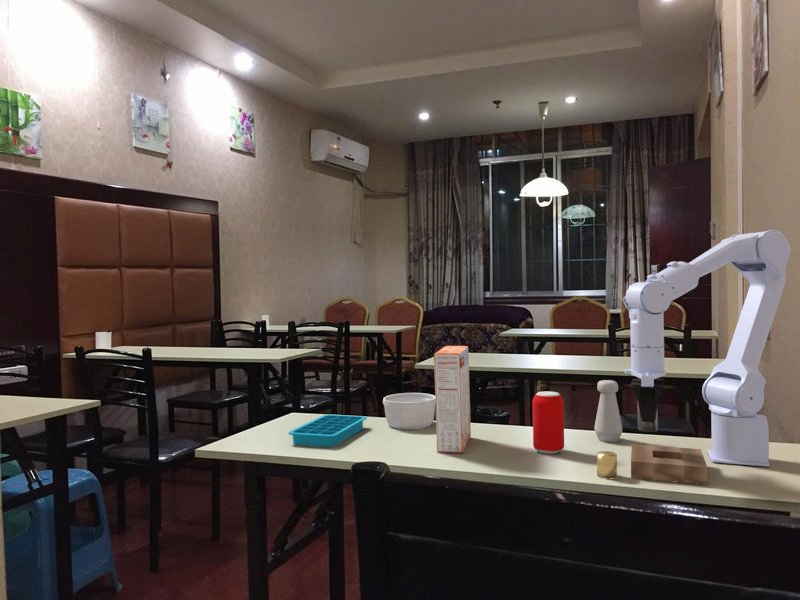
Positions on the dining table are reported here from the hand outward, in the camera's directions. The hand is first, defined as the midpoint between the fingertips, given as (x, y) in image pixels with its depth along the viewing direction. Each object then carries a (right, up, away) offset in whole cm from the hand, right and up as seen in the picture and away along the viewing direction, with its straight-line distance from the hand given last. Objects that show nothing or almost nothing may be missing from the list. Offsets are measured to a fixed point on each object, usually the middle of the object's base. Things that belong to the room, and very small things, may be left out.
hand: (648, 419), depth 111 cm
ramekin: (-44, -9, +38) cm, 59 cm away
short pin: (-9, -9, -5) cm, 14 cm away
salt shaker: (-1, -9, +20) cm, 22 cm away
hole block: (+2, -9, -3) cm, 10 cm away
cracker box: (-34, -9, +18) cm, 40 cm away
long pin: (0, -2, 0) cm, 2 cm away
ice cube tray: (-63, -10, +29) cm, 70 cm away
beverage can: (-16, -9, +12) cm, 22 cm away
